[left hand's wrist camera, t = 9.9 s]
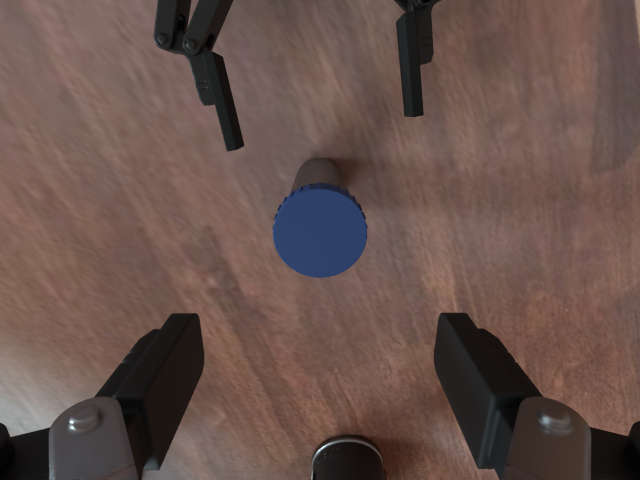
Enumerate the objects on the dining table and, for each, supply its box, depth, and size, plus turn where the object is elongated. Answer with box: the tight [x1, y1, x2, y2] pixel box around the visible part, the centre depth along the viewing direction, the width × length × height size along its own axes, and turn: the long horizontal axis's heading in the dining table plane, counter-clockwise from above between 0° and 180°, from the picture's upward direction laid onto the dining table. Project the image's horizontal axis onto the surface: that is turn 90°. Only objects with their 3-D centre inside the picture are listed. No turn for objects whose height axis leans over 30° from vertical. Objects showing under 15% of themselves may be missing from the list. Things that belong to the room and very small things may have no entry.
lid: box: [273, 182, 367, 277], centre depth 22 cm, size 6×6×2 cm
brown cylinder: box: [290, 158, 350, 194], centre depth 28 cm, size 5×5×15 cm
